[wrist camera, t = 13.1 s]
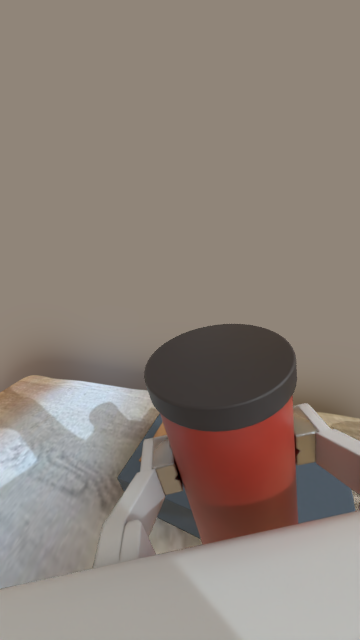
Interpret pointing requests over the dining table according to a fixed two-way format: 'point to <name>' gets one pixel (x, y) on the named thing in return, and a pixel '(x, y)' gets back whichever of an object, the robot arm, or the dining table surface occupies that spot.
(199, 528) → the red canister
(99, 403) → the dining table surface
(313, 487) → the platform
